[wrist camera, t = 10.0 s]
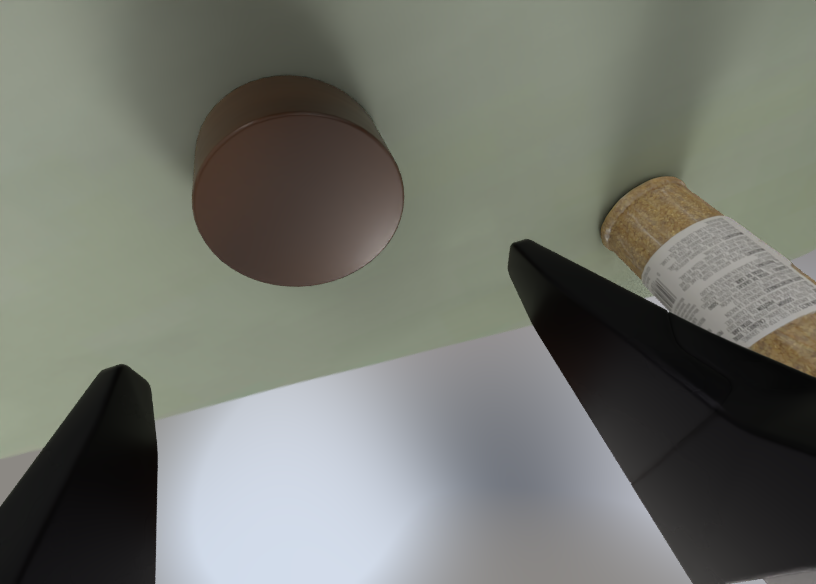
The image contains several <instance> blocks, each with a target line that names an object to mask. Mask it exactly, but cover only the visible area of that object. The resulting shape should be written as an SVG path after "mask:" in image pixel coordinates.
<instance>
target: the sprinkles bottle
mask: <svg viewBox="0 0 816 584" xmlns="http://www.w3.org/2000/svg"><path fill="white" fill-rule="evenodd" d="M601 239H602V243H603V244H604V246H605V247H607V248H608V249H609V250H611V251H613V252H615V253H616V254H617V255H618V257H619V258H620V259H621V260H623V261H624V262H625V263H626V265H627V266H628V267H630V269H631V270H632V271H633V272H634V273H635V274H636V275H637V276H638V277H639V278H640V279H641V280H642V283H643V284H644V286H645V287H646V288H647V289H648V290H649V291H650V292H651V293H652V294H653V295H654V296H655V297H656V298H657V299H658V300H659V301H660V302H661V303H662V304H663V305H664V306H665V307H666V308H667V309H668V310H669V312H671V313H673V314H675V315H677V316H679V317H681V318H683V319H685V320H687V321H689V322H691V323H693V324H695V325H697V326H699V327H701V328H703V329H705V330H707V331H709V332H711V333H714V334H716V335H718V336H720V337H723V338H725V339H727V340H729V341H731V342H734V343H736V344H738V345H740V346H743V347H745V348H747V349H750V350H752V351H754V352H757V353H759V354H762V355H764V356H766V357H769V358H771V359H773V360H776V361H778V362H780V363H783V364H785V365H787V366H790V367H792V368H794V369H797V370H799V371H801V372H804V373H806V374H809V375H811V376H814V377H816V282H815V281H814V280H813V279H811V278H810V277H809V276H808V275H806V274H804V273H803V272H802V271H801V270H800V269H798V268H797V267H796V266H794V265H793V263H792V262H791V261H790V260H788V259H787V258H786V257H784V256H783V255H781V254H780V253H778V252H777V251H776V250H774V249H773V248H772V247H770V246H769V245H768V244H766V243H765V242H763V241H762V240H761V239H759V238H758V237H756V236H755V235H754V234H752V233H751V232H750V231H748V230H747V229H746V228H744V227H743V226H741V225H740V224H739V223H737V222H736V221H735V220H733V219H732V218H730V217H727V216H724V215H723V214H721V213H720V212H719V211H717V210H716V209H715V208H713V207H712V206H710V205H709V204H708V203H706V202H705V201H704V200H703V199H701V198H700V197H699V196H697V195H695V194H694V193H692V192H691V191H690V190H689V189H687V187H686V185H685V183H684V182H683V181H681V180H679V179H677V178H675V177H669V176H664V177H658V178H654V179H651V180H649V181H647V182H645V183H643V184H641V185H639V186H637V187H636V188H634V189H632V190H631V191H630V192H628V193H627V194H626V195H625V196H623V197H622V198H621V199H620V200H619V201H618V202H617V203H616V204H615V205H614V207H613V208H612V210H611V211H610V212H609V213H608V215H607V216H606V218H605V221H604V222H603V225H602V227H601Z"/></svg>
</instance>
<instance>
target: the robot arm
mask: <svg viewBox="0 0 816 584" xmlns="http://www.w3.org/2000/svg"><path fill="white" fill-rule="evenodd" d="M508 272H509V275H510V278H511V280H512V282H513V284H514V286H515V288H516V290H517V293H518V295H519V297H520V299H521V301H522V303H523V305H524V308H525V310H526V312H527V314H528V316H529V318H530V320H531V322H532V324H533V326H534V328H535V329H536V331H537V333H538V335H539V336H540V338H541V339H542V341H543V343H544V344H545V346H546V347H547V349H548V351H549V352H550V354H551V356H552V357H553V359H554V360H555V362H556V364H557V365H558V367H559V368H560V370H561V372H562V373H563V375H564V377H565V378H566V380H567V382H568V383H569V385H570V386H571V388H572V390H573V391H574V393H575V394H576V396H577V397H578V399H579V401H580V403H581V404H582V406H583V407H584V409H585V411H586V412H587V414H588V415H589V417H590V419H591V420H592V422H593V423H594V425H595V427H596V428H597V430H598V431H599V433H600V435H601V436H602V438H603V440H604V441H605V443H606V444H607V446H608V448H609V449H610V450H611V452H612V454H613V456H614V457H615V459H616V461H617V462H618V464H619V465H620V467H621V468H622V470H623V472H624V473H625V475H626V476H627V478H628V480H629V481H630V482H631V485H632V487H633V488H634V490H635V491H636V493H637V495H638V496H639V498H640V499H641V501H642V503H643V504H644V506H645V508H646V509H647V511H648V512H649V514H650V515H651V517H652V519H653V521H654V522H655V524H656V525H657V527H658V529H659V530H660V532H661V533H662V535H663V536H664V538H665V540H666V541H667V543H668V545H669V546H670V548H671V549H672V551H673V553H674V554H675V556H676V558H677V559H678V561H679V562H680V564H681V566H682V567H683V569H684V570H685V572H686V574H687V575H688V577H689V578H690V580H691V581H692V583H693V584H731V583H737V582H744V581H750V580H757V579H764V581H765V582H766V583H767V584H816V377H814V376H811V375H809V374H806V373H804V372H801V371H799V370H797V369H794V368H792V367H790V366H787V365H785V364H783V363H780V362H778V361H776V360H773V359H771V358H769V357H766V356H764V355H762V354H759V353H757V352H754V351H752V350H750V349H747V348H745V347H743V346H740V345H738V344H736V343H734V342H731V341H729V340H727V339H725V338H723V337H720V336H718V335H716V334H714V333H711V332H709V331H707V330H705V329H703V328H701V327H699V326H697V325H695V324H693V323H691V322H689V321H687V320H685V319H683V318H681V317H679V316H677V315H675V314H673V313H671V312H667V310H665V309H663V308H661V307H660V306H657V305H656V304H654V303H652V302H650V301H648V300H646V299H644V298H642V297H640V296H638V295H636V294H634V293H632V292H630V291H629V290H627V289H625V288H623V287H621V286H619V285H617V284H615V283H613V282H611V281H609V280H607V279H605V278H603V277H601V276H599V275H598V274H596V273H594V272H592V271H590V270H588V269H586V268H584V267H582V266H580V265H578V264H576V263H574V262H572V261H570V260H568V259H566V258H565V257H563V256H561V255H559V254H557V253H555V252H553V251H551V250H549V249H547V248H545V247H543V246H541V245H539V244H537V243H535V242H534V241H532V240H529V239H524V240H521V241H518V242H514V243H512V245H511V246H510V252H509V260H508ZM157 471H158V452H157V439H156V431H155V420H154V411H153V402H152V393H151V388H150V385H149V383H148V382H147V381H146V380H145V379H144V378H143V377H141V376H140V375H139V374H138V373H136V372H135V371H134V370H132V369H131V368H130V367H129V366H127V365H124V364H119V365H116V366H113V367H110V368H106V369H104V370H102V371H101V372H100V373H99V374H98V375H97V377H96V378H95V379H94V381H93V382H92V383H91V385H90V386H89V387H88V389H87V390H86V391H85V393H84V394H83V396H82V397H81V398H80V400H79V401H78V402H77V404H76V405H75V406H74V408H73V409H72V410H71V412H70V413H69V414H68V416H67V417H66V419H65V420H64V421H63V423H62V424H61V425H60V427H59V428H58V429H57V431H56V432H55V433H54V435H53V436H52V437H51V439H50V440H49V442H48V443H47V444H46V446H45V447H44V448H43V450H42V451H41V452H40V454H39V455H38V456H37V458H36V459H35V461H34V462H33V463H32V465H31V466H30V467H29V469H28V470H27V471H26V473H25V474H24V476H23V477H22V478H21V479H20V481H19V482H18V483H17V485H16V486H15V488H14V489H13V490H12V492H11V493H10V494H9V496H8V497H7V498H6V500H5V501H4V502H3V504H2V505H1V506H0V584H155V570H156V568H155V567H156V519H157V516H156V515H157Z"/></svg>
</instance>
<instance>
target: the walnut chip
mask: <svg viewBox="0 0 816 584" xmlns="http://www.w3.org/2000/svg"><path fill="white" fill-rule="evenodd" d="M403 205H404V186H403V181H402V177H401V173H400V171H399V168H398V166H397V163H396V162H395V160H394V158H393V156H392V155H391V153H390V151H389V149H388V147H387V146H386V144H385V142H384V140H383V139H382V137H381V135H380V133H379V132H378V130H377V128H376V126H375V124H374V123H373V121H372V119H371V118H370V116H369V115H368V114H367V112H366V111H365V110H364V109H363V108H362V107H361V106H360V105H359V104H358V103H357V102H356V101H355V100H354V99H353V98H351V97H350V96H349V95H347V94H346V93H345V92H343V91H341V90H340V89H338V88H336V87H334V86H332V85H330V84H327V83H325V82H322V81H320V80H316V79H312V78H308V77H301V76H292V75H288V76H273V77H267V78H262V79H258V80H255V81H252V82H249V83H247V84H245V85H243V86H241V87H239V88H236V89H235V90H233V91H232V92H231V93H229V94H228V95H226V96H225V97H224V98H223V99H222V100H221V101H219V102H218V103H217V104H216V105H215V106H214V108H213V109H212V110H211V112H210V113H209V114H208V116H207V117H206V119H205V121H204V123H203V125H202V127H201V129H200V132H199V135H198V138H197V143H196V149H195V160H194V174H193V188H192V209H193V214H194V219H195V222H196V225H197V228H198V230H199V233H200V234H201V236H202V238H203V240H204V241H205V243H206V244H207V245H208V247H209V248H210V249H211V250H212V252H213V253H214V254H215V255H216V256H217V257H218V258H219V259H220V260H221V261H222V262H224V263H225V264H226V265H228V266H229V267H230V268H232V269H234V270H235V271H237V272H239V273H241V274H243V275H245V276H247V277H249V278H252V279H254V280H258V281H261V282H264V283H269V284H273V285H280V286H296V287H300V286H312V285H318V284H323V283H327V282H331V281H334V280H337V279H340V278H343V277H345V276H347V275H349V274H352V273H354V272H355V271H357V270H359V269H360V268H362V267H364V266H365V265H366V264H368V263H369V262H371V261H372V260H373V259H374V258H375V257H376V256H377V255H378V254H379V253H380V252H381V251H382V250H383V249H384V248H385V247H386V246H387V244H388V243H389V241H390V240H391V238H392V237H393V235H394V233H395V231H396V229H397V227H398V225H399V222H400V219H401V215H402V211H403Z"/></svg>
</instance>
